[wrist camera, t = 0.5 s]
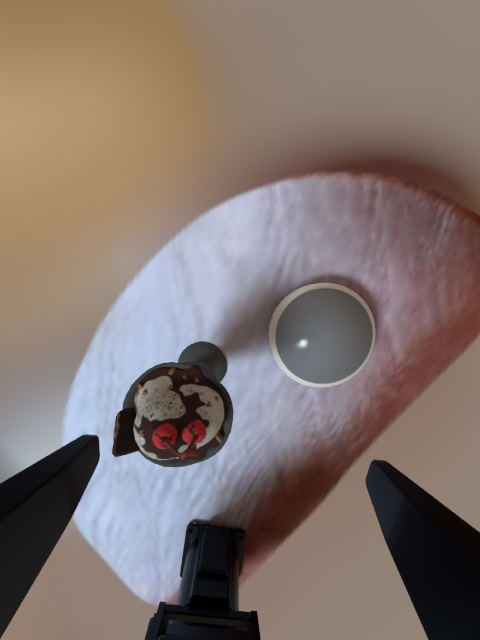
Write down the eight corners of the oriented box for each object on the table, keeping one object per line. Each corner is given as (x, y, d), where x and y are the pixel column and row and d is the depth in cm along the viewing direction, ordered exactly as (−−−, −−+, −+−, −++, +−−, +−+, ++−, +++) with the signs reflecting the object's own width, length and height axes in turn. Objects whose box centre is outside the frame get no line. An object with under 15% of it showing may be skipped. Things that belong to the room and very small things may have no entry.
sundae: (246, 350, 24) (259, 443, 9) (216, 407, 25) (186, 577, 10) (187, 321, 24) (104, 370, 9) (159, 379, 25) (37, 514, 10)
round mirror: (355, 387, 25) (365, 395, 23) (260, 373, 25) (262, 381, 23) (375, 291, 24) (388, 291, 22) (276, 276, 23) (280, 274, 21)
